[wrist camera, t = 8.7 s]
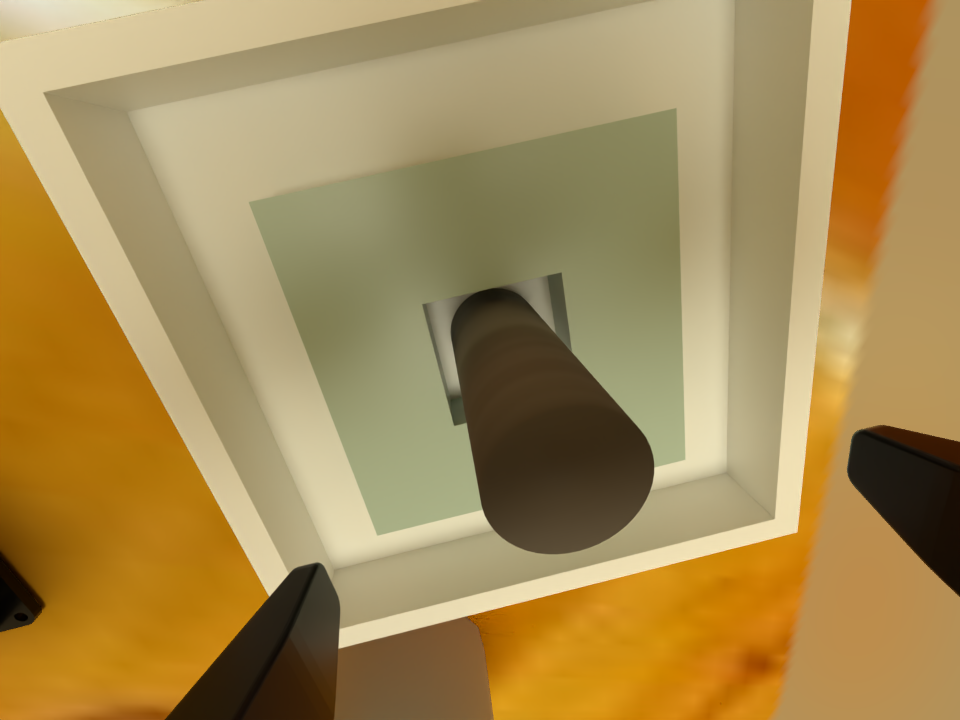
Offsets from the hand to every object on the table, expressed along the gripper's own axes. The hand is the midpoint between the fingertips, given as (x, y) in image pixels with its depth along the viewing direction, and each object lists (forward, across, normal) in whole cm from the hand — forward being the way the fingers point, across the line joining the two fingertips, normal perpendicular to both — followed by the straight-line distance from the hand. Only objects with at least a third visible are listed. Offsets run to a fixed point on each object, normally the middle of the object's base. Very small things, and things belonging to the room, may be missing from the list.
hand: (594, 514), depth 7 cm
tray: (+11, 0, 0) cm, 11 cm away
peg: (+10, 0, 0) cm, 10 cm away
